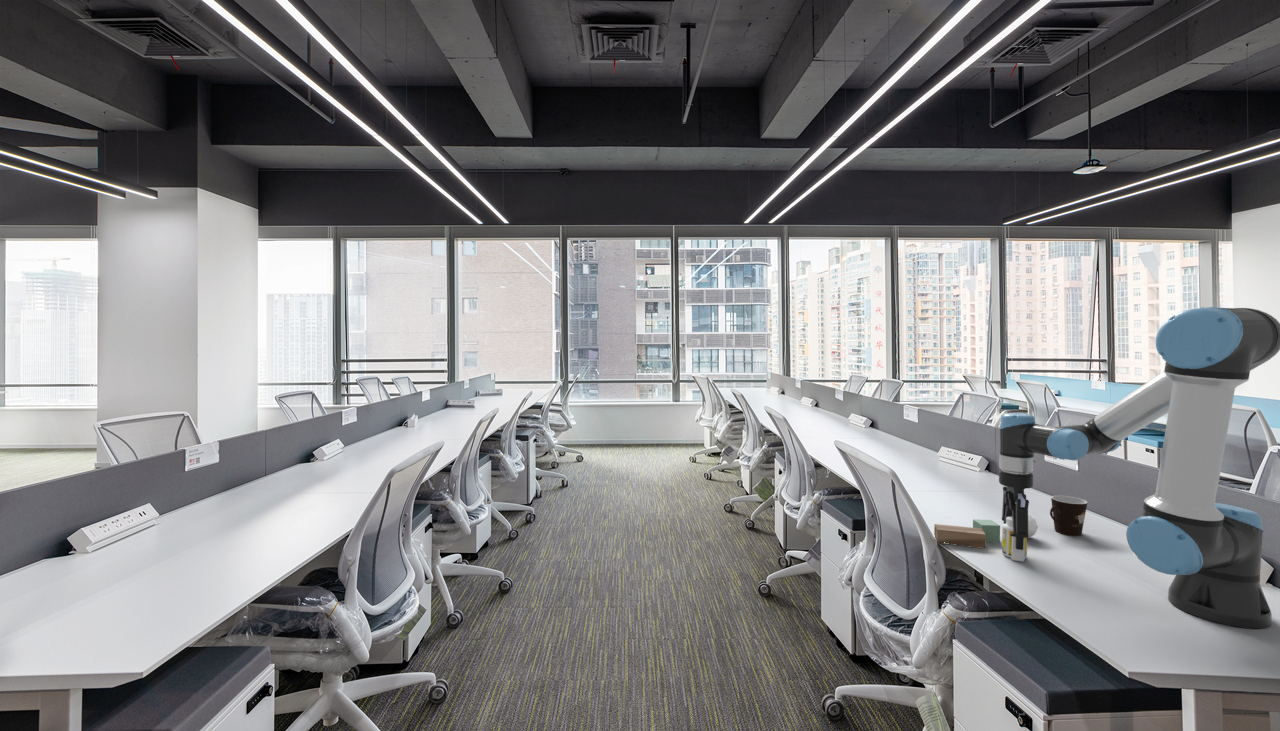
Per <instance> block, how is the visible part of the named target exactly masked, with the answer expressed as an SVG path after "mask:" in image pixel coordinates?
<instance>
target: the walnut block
mask: <svg viewBox="0 0 1280 731" xmlns="http://www.w3.org/2000/svg"><path fill="white" fill-rule="evenodd" d="M933 533H934V535H935V538H936V540H937V542H936V543H937V544H941V543H944V542H945V543H949V544H948V545H950V544H956V545H955V546H959V545H961V546H960V547H968V546H971V547H970V548H977V547H978V548H979V549H986V542H985V539H986V534H985V533H984V532H983V530H982V529H981V528H973V527H968V526H960V525H959V526H957V525H950V524H949V525H948V524H940V523H934V532H933ZM934 535H933V536H934ZM935 538H934V539H935ZM936 540H935V541H936Z"/></svg>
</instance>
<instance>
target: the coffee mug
mask: <svg viewBox="0 0 1280 731" xmlns="http://www.w3.org/2000/svg"><path fill="white" fill-rule="evenodd" d="M1050 500H1051V508H1050V511H1049V515H1050V518H1051V519H1052V520H1053V527H1054V528H1053V529H1054V531H1055V532H1056V533H1058V534H1060V535H1065V536H1071V537H1079V536H1080V537H1081V536H1082V534H1083V528H1084V523H1085V517H1086V512H1087V507H1088V501H1087V500H1085V499H1082V498H1079V497H1075V496H1070V495H1069V496H1068V495H1052V496H1050Z"/></svg>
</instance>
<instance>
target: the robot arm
mask: <svg viewBox="0 0 1280 731" xmlns="http://www.w3.org/2000/svg"><path fill="white" fill-rule="evenodd" d="M1155 348H1156V351H1157V354H1158V355H1160V356H1161V358H1162V360H1164V361H1165V364H1164V370H1163V371H1161V373H1158V374H1157V375H1156V376H1154V377H1153V378H1151V379H1149V380H1148V381H1147V382H1145V383H1143V384H1142V385H1141V386H1139V387H1138V388H1136V389H1135V390H1134V391H1131V392H1130V393H1129V394H1127V395H1125V396H1124V397H1122V398H1121V399H1120V400H1118V401H1116V402H1115V403H1113V404H1112V405H1110V406H1109V407H1107V408H1106V409H1104V410H1103V411H1101V412H1100V413H1099V414H1096V416H1094V417H1093V418H1091V419H1089V420H1088V421H1086V422H1085V423H1083V424H1077V425H1076V424H1075V425H1074V424H1073V425H1065V426H1064V425H1062V426H1051V425H1046V424H1045V425H1044V424H1038V423H1036V418H1035V416H1034V415H1032V414H1027V413H1017V412H1009V413H1004V414H1002V415H1001V417H1000V418H1001V419H1000V425H999V440H1000V441H999V457H998V458H999V459H998V460H999V461H998V467H999V469H1000V470H999V471H998V483H999V484H1000V485H1002V486H1003V487H1002V491H1003V492H1002V493H1003V495H1002V510H1001V511H1002V513H1001V521H1003V522H1002V523H1003V524H1005V523H1006V517H1012V519H1013V534H1010V535H1011V536H1012V555H1011V558H1010V559H1011V561H1017V562H1025V559H1024V555H1025V538H1027V539H1029V538H1028V514H1029V504H1030V501H1029V499H1027V494H1025V489H1031V488H1033V487H1034V473H1032V472H1034V464H1036V463H1037V462H1036V459H1034V456H1035V455H1034V454H1038V455H1042V456H1048V457H1052V458H1056V459H1058V460H1069V461H1079V460H1081V459H1082V458H1083V457H1085V456H1087V455H1095V454H1096V455H1101V454H1102V455H1103V454H1107V453H1111V452H1114V451H1115V450H1117V449H1118V448H1119V447H1120V446H1121V443H1122V441H1123V440H1125V439H1126V438H1129V437H1130V436H1131V435H1133V434H1135V433H1136V432H1138V431H1140V430H1141V429H1143V428H1145V427H1147V426H1148V425H1150V424H1152V423H1153V422H1155V421H1157V420H1158V419H1160V418H1161V417H1163V416H1165V415H1167V419H1166V427H1165V432H1164V437H1163V444H1162V451H1161V456H1160V462H1159V468H1158V475H1157V476H1158V477H1157V481H1156V488H1155V493H1154V494H1152V495H1149V496H1147V497H1145V498H1144V500H1143V505H1142V512H1141V516H1139V517H1136V518H1135V519H1133V520H1132V521H1131V522H1130V523H1129V524H1128V526H1127V528H1126V532H1125V534H1126V536H1125V537H1126V540H1127V544H1128V546H1129V548H1130V550H1131V551H1132V552H1133V553H1134V554H1135V556H1136V557H1137V559H1138V560H1139V561H1140V562H1142V563H1143V564H1144V565H1145V566H1146V567H1149V568H1150V569H1152V570H1154V571H1156V572H1158V573H1162V574H1165V575H1169V576H1170V575H1172V576H1174V578H1173V580H1172V582H1171V583H1170V586H1169V587H1168V593H1167V594H1168V595H1167V596H1168V597H1167V600H1168V602H1169V603H1170V604H1171V605H1174V606H1175V607H1176V608H1178V609H1180V611H1181V610H1182V611H1183V612H1185V613H1187V614H1190V615H1194V616H1196V617H1198V618H1201V619H1205V620H1207V621H1211V622H1214V623H1219V624H1223V625H1227V626H1233V627H1238V628H1245V629H1265V628H1268V627H1270V626H1271V625H1272V611H1271V608H1270V606H1269V604H1268V601H1267V599H1266V596H1265V593H1264V591H1263V589H1262V586H1261V567H1262V566H1261V565H1262V551H1263V548H1262V547H1263V533H1264V531H1265V529H1264V528H1263V519H1262V517H1261V515H1260V514H1259V513H1257V512H1256V511H1253V510H1250V509H1247V508H1243V507H1239V506H1235V505H1230V504H1225V503H1219V502H1216V498H1217V493H1218V488H1219V483H1220V476H1221V470H1222V464H1223V459H1224V453H1225V448H1226V442H1227V436H1228V432H1229V431H1228V430H1229V425H1230V419H1231V413H1232V409H1233V402H1234V397H1235V391H1236V388H1237V387H1238V386H1241V385H1243V384H1245V383H1246V382H1248V381H1249V379H1250V373H1251V371H1253V370H1254V369H1256V368H1258V367H1259V366H1262V365H1263V364H1265V363H1267V362H1268V361H1270V360H1271V359H1272V358H1274V357H1275V356H1276V355H1277V354H1278V353H1279V351H1280V321H1278V320H1277V318H1275V317H1274V316H1272V315H1271V314H1269V313H1267V312H1265V311H1262V310H1259V309H1254V308H1248V307H1215V306H1207V307H1197V308H1191V309H1187V310H1183V311H1181V312H1178V313H1176V314H1173V315H1172V316H1171V317H1170V318H1168V319H1167V320H1166V321H1164V323H1162V325H1161V326H1160V327H1159V329H1158V331H1157V333H1156V336H1155Z"/></svg>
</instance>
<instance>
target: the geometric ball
mask: <svg viewBox="0 0 1280 731" xmlns="http://www.w3.org/2000/svg"><path fill="white" fill-rule="evenodd" d="M1036 521H1037V520H1036V518H1034V517H1033V515H1032V514H1030V513H1028V538H1027V539H1030V538H1032V537H1034V536H1035V535H1036V534H1037V531H1038V529H1039V526H1038V524H1037V522H1036Z"/></svg>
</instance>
